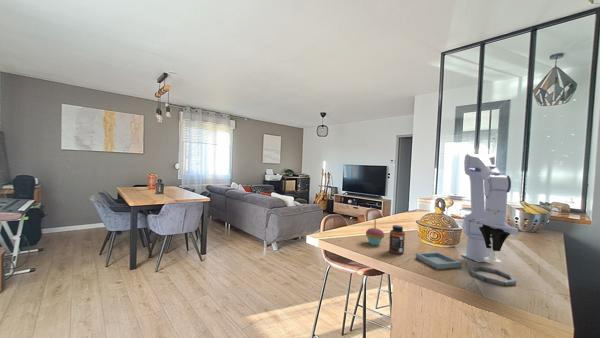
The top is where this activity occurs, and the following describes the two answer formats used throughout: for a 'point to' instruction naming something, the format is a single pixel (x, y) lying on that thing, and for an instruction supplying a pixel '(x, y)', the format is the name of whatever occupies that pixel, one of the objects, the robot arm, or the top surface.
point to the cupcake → (374, 235)
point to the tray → (438, 260)
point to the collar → (490, 280)
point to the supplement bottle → (397, 240)
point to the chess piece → (492, 255)
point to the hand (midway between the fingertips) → (493, 249)
